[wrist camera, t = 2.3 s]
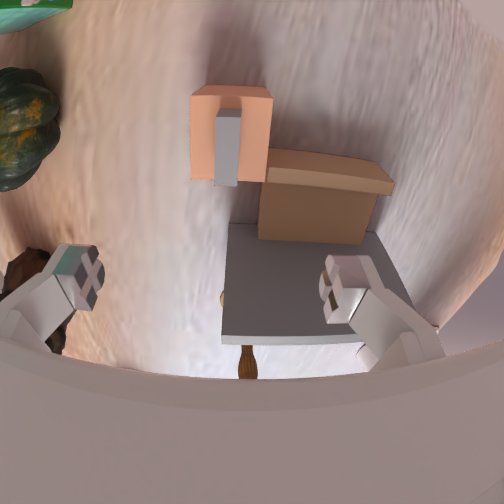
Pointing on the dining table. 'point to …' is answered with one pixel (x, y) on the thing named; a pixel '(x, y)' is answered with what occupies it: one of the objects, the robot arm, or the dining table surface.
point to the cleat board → (301, 248)
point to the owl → (22, 272)
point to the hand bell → (246, 359)
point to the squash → (25, 125)
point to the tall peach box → (230, 133)
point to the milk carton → (28, 12)
